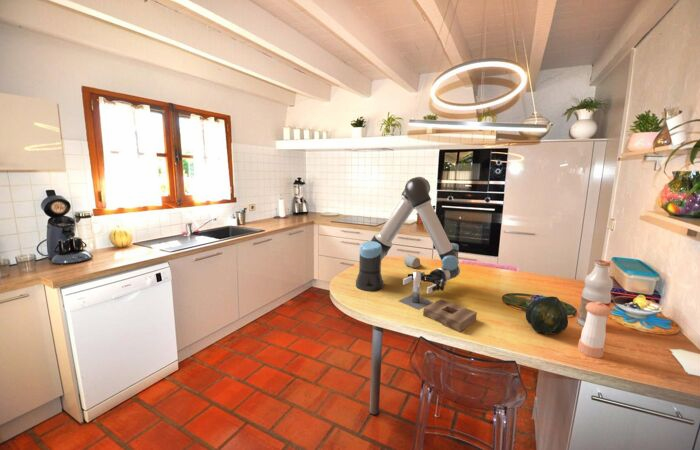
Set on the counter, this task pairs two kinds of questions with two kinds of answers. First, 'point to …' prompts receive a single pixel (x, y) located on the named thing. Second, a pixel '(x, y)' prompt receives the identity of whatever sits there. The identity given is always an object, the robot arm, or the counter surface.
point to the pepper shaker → (594, 330)
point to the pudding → (537, 297)
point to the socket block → (450, 315)
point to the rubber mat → (418, 306)
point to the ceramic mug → (412, 261)
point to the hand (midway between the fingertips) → (415, 286)
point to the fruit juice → (596, 289)
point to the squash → (547, 315)
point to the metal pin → (416, 287)
